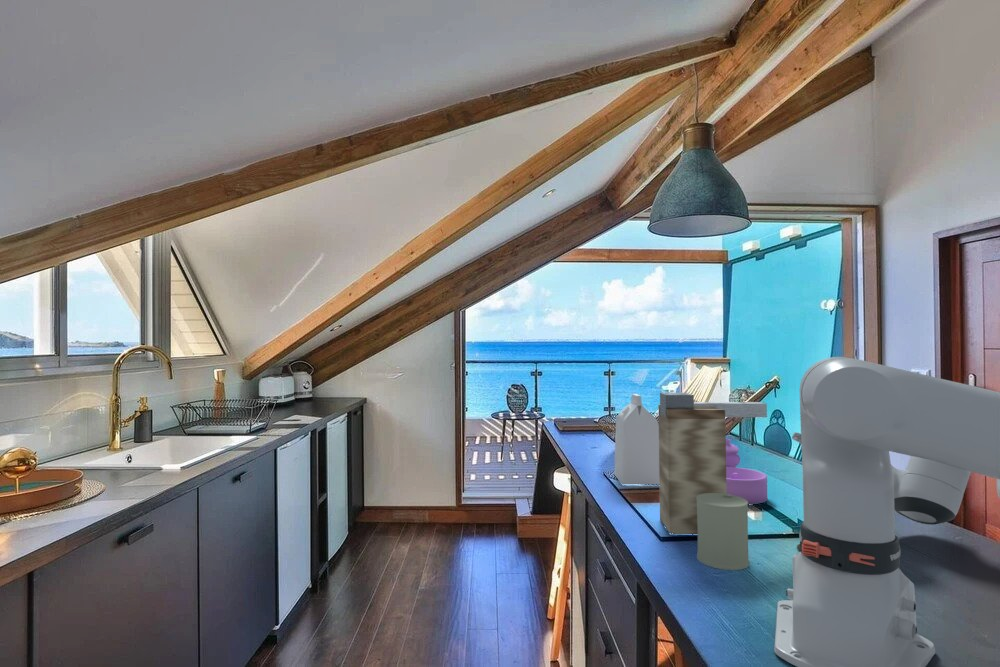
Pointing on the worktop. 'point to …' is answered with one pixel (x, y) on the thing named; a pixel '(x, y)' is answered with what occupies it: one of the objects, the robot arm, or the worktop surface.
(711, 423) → the post
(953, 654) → the worktop surface
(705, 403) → the steel bar
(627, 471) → the milk
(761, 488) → the container set
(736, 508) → the can
